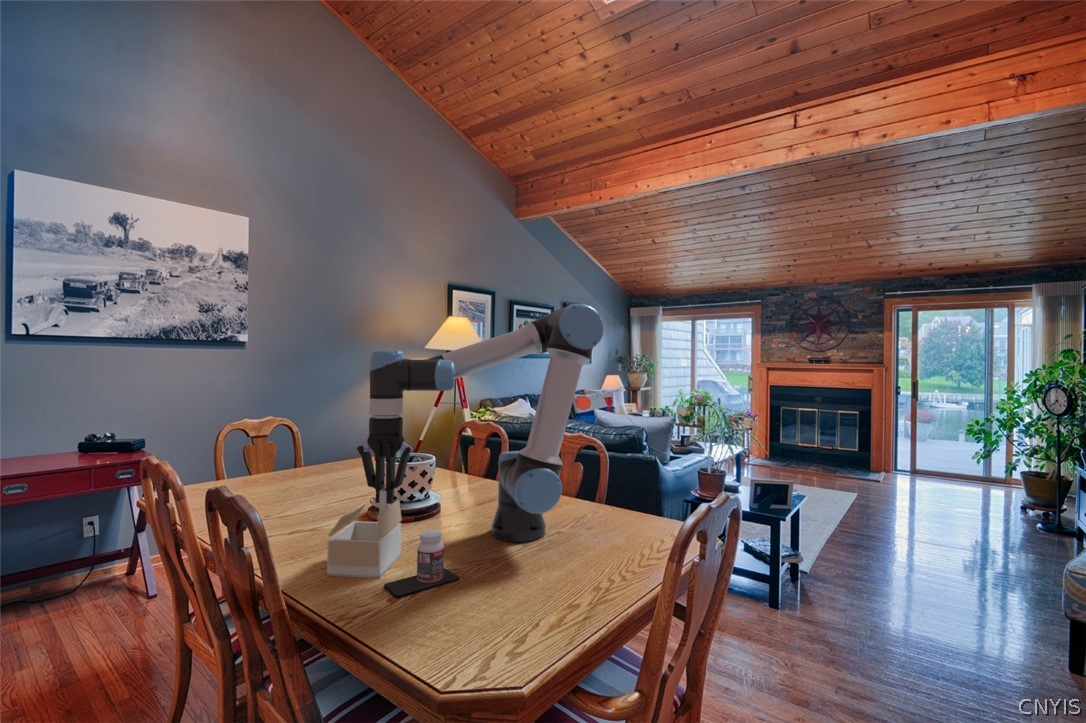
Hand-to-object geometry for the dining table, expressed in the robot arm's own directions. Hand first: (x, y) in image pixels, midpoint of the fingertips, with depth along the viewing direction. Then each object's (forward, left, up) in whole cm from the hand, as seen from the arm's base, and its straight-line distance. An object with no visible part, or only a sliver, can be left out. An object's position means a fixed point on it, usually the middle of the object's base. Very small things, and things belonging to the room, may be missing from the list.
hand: (384, 517), depth 115 cm
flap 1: (+10, 0, -3) cm, 11 cm away
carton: (+4, 0, -11) cm, 12 cm away
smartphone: (-12, +8, -12) cm, 19 cm away
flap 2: (-2, 0, -3) cm, 3 cm away
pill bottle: (-13, +6, -12) cm, 18 cm away
